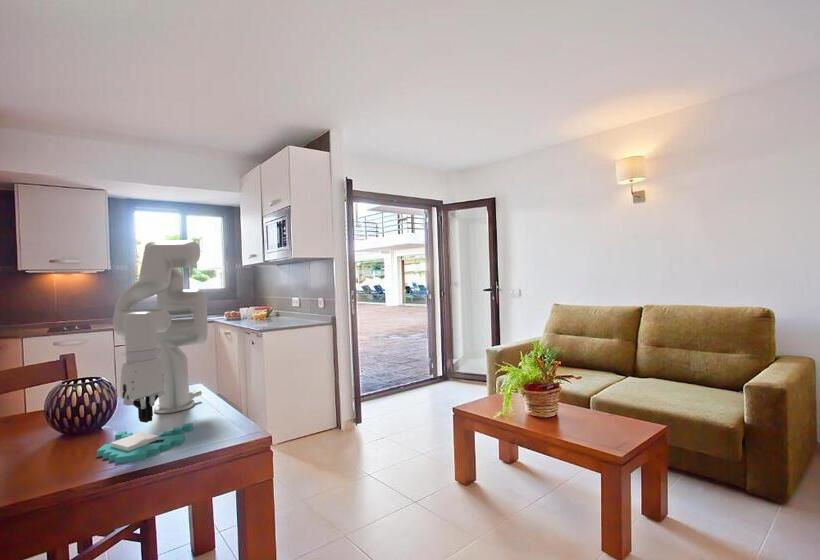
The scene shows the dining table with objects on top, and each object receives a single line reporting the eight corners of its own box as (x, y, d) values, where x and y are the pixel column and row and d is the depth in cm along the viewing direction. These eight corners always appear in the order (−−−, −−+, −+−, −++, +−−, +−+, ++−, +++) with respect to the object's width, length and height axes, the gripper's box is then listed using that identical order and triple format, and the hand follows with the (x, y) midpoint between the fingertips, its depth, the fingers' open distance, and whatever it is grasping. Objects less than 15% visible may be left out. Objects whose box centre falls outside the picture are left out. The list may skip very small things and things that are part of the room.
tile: (141, 431, 119) (110, 442, 111) (158, 435, 115) (127, 447, 108) (141, 435, 119) (110, 447, 112) (158, 439, 115) (128, 451, 108)
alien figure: (118, 439, 122) (84, 470, 103) (118, 432, 122) (84, 461, 103) (193, 430, 127) (174, 457, 108) (192, 423, 127) (173, 449, 108)
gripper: (160, 350, 123) (163, 411, 124) (105, 360, 110) (109, 429, 110) (176, 351, 120) (179, 413, 121) (121, 362, 107) (125, 432, 107)
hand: (146, 421), depth 115 cm, fingers closed
